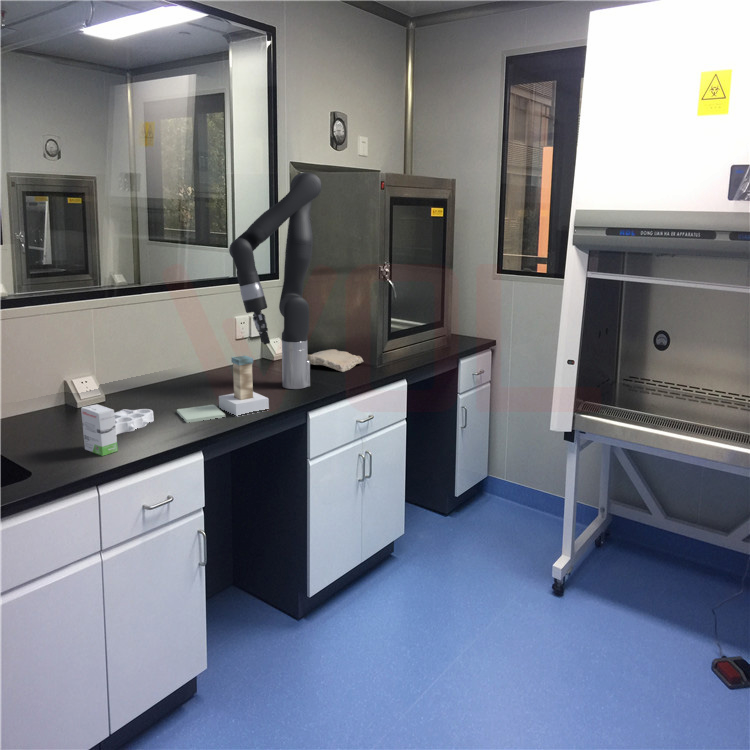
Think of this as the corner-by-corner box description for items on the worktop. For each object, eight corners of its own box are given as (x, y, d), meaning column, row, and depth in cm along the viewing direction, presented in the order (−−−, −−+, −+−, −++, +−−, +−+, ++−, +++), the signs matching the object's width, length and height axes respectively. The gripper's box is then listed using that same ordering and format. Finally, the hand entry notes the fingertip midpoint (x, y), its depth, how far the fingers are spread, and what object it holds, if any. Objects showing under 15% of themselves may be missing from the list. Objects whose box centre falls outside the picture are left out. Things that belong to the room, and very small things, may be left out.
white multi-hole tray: (129, 415, 210) (164, 422, 204) (81, 431, 195) (117, 439, 188) (128, 405, 209) (163, 411, 203) (80, 420, 194) (117, 428, 187)
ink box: (118, 451, 178) (115, 409, 175) (101, 456, 174) (97, 413, 172) (100, 444, 183) (97, 403, 180) (83, 449, 179) (79, 407, 177)
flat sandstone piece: (337, 376, 265) (365, 362, 280) (336, 358, 262) (364, 345, 278) (290, 370, 278) (319, 357, 293) (288, 352, 275) (317, 340, 291)
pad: (214, 407, 218) (214, 404, 218) (225, 417, 208) (225, 414, 208) (176, 412, 212) (176, 409, 212) (186, 422, 202) (186, 419, 202)
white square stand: (250, 402, 225) (250, 390, 224) (268, 410, 216) (268, 398, 215) (219, 408, 218) (218, 396, 217) (236, 416, 209) (236, 404, 208)
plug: (247, 406, 220) (245, 355, 216) (254, 409, 217) (253, 358, 213) (233, 408, 217) (231, 357, 213) (240, 412, 214) (239, 360, 209)
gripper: (266, 294, 223) (278, 341, 226) (262, 294, 237) (274, 338, 240) (244, 300, 222) (257, 347, 225) (241, 299, 235) (253, 344, 238)
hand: (265, 342), depth 232 cm, fingers open, 8 cm apart
